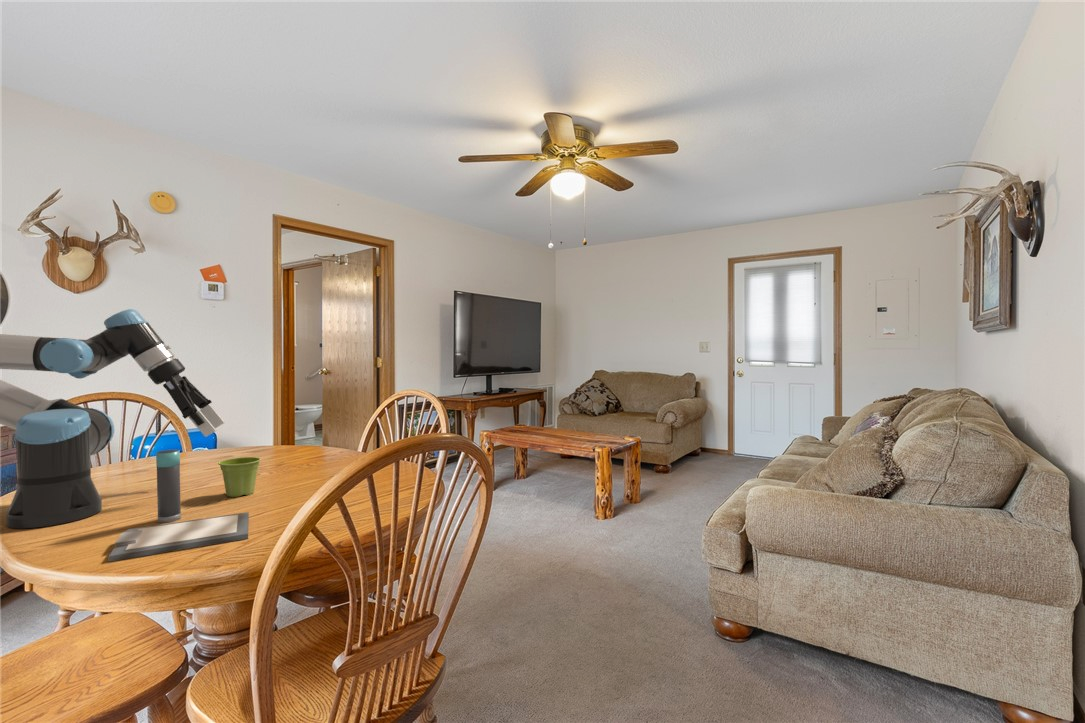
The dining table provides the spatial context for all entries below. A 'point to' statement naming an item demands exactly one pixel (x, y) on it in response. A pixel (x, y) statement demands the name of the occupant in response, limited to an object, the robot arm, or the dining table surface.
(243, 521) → the clipboard
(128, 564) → the dining table surface
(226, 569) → the dining table surface
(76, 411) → the robot arm
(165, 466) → the marker
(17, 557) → the dining table surface
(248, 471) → the plant pot
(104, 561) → the dining table surface
